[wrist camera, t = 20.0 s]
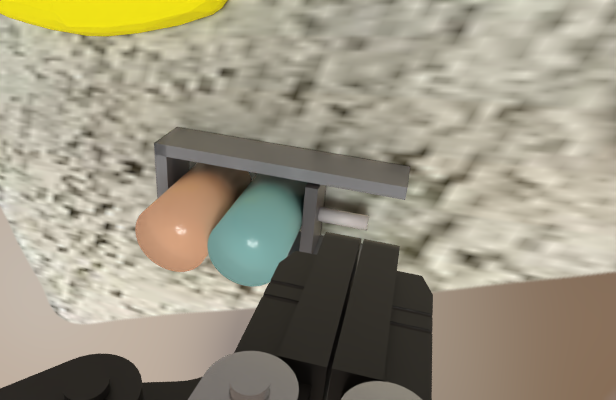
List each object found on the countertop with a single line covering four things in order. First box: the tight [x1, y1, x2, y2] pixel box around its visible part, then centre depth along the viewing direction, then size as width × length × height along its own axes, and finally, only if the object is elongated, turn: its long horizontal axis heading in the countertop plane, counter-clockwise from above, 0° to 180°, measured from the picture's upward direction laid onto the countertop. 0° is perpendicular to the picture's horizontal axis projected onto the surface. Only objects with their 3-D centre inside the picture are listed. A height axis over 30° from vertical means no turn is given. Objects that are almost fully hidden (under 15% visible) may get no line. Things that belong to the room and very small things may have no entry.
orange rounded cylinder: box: [135, 163, 252, 272], centre depth 40 cm, size 6×6×10 cm
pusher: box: [299, 182, 369, 254], centre depth 41 cm, size 5×6×4 cm
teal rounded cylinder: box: [208, 173, 308, 286], centre depth 39 cm, size 6×6×10 cm
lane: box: [154, 127, 410, 265], centre depth 42 cm, size 20×9×4 cm, turn 85°
